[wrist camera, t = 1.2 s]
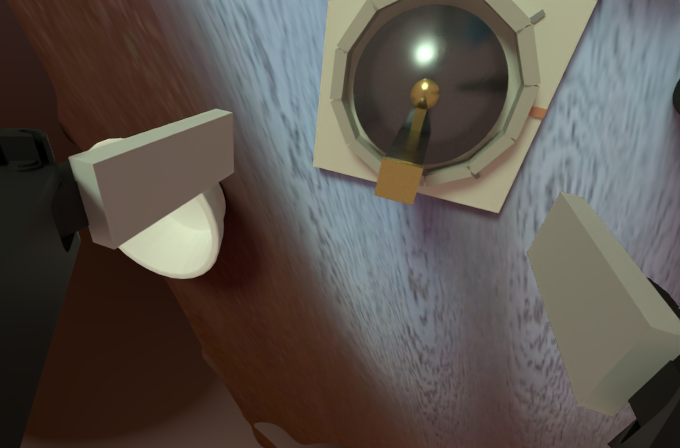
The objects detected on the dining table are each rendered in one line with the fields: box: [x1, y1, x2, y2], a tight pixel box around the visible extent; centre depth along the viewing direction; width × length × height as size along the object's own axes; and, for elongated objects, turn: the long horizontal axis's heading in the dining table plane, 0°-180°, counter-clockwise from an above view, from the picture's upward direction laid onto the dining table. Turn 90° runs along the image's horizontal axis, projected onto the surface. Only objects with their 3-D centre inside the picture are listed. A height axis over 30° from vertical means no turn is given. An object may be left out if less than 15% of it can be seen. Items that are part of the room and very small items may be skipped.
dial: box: [353, 4, 509, 205], centre depth 28 cm, size 14×14×11 cm
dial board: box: [313, 0, 597, 213], centre depth 33 cm, size 22×22×4 cm
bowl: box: [90, 138, 226, 279], centre depth 48 cm, size 21×21×8 cm
